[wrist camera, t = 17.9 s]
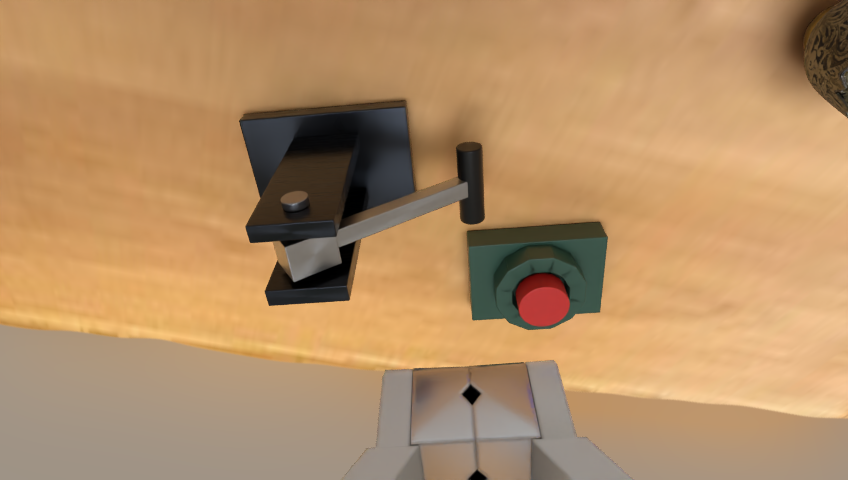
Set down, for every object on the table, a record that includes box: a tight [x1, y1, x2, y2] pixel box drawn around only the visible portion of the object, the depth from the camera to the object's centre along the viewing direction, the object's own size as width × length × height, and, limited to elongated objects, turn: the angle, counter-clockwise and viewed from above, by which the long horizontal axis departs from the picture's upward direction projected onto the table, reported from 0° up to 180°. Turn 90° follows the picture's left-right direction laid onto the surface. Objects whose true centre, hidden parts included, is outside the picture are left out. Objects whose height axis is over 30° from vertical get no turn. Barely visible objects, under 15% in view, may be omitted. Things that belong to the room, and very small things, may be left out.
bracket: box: [239, 101, 416, 306], centre depth 34 cm, size 11×8×13 cm
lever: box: [273, 142, 485, 282], centre depth 32 cm, size 13×5×2 cm
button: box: [516, 273, 570, 326], centre depth 40 cm, size 4×4×2 cm
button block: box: [467, 222, 608, 330], centre depth 42 cm, size 10×7×4 cm
